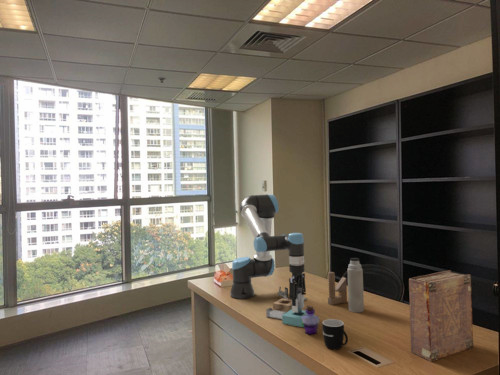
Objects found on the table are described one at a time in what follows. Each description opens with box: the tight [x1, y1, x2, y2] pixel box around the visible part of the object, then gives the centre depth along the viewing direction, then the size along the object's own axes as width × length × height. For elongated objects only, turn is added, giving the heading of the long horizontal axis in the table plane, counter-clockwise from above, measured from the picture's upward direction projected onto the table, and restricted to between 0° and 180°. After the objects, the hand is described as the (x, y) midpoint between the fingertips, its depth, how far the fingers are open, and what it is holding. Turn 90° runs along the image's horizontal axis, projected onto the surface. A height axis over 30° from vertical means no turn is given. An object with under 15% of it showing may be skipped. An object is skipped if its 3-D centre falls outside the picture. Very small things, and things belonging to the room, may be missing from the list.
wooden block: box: [327, 271, 348, 306], centre depth 216 cm, size 4×11×18 cm, turn 111°
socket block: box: [281, 309, 315, 328], centre depth 189 cm, size 12×12×4 cm
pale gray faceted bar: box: [265, 307, 286, 320], centre depth 195 cm, size 14×4×4 cm, turn 57°
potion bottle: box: [302, 305, 320, 336], centre depth 175 cm, size 9×9×12 cm
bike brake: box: [277, 286, 307, 301], centre depth 225 cm, size 14×7×20 cm
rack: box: [272, 297, 292, 313], centre depth 205 cm, size 10×10×5 cm
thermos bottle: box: [347, 257, 365, 313], centre depth 203 cm, size 8×8×28 cm
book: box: [408, 269, 474, 362], centre depth 152 cm, size 25×9×30 cm, turn 116°
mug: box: [321, 318, 349, 350], centre depth 158 cm, size 12×9×10 cm
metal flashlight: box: [295, 287, 303, 316], centre depth 189 cm, size 4×4×17 cm
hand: (298, 309), depth 189 cm, fingers open, 7 cm apart
